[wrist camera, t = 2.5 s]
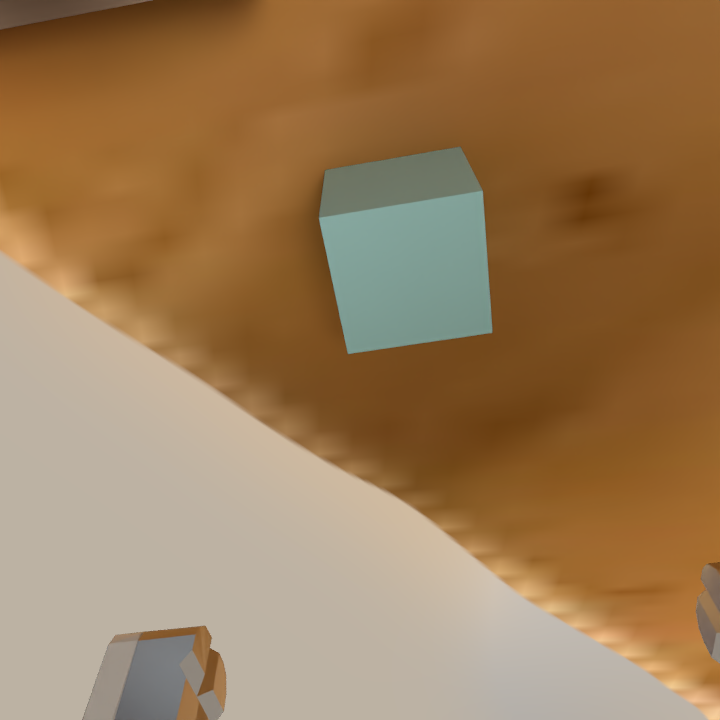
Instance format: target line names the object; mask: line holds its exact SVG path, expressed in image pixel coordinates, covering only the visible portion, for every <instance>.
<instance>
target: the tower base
mask: <svg viewBox="0 0 720 720" xmlns="http://www.w3.org/2000/svg"><path fill="white" fill-rule="evenodd" d="M146 1H151V0H0V30H1V29H6V28H11V27H16V26H22V25H27V24H32V23H37V22H42V21H48V20H53V19H58V18H63V17H68V16H74V15H79V14H84V13H89V12H94V11H100V10H105V9H110V8H115V7H120V6H125V5H131V4H136V3H141V2H146Z"/></svg>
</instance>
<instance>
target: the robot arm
mask: <svg viewBox="0 0 720 720" xmlns="http://www.w3.org/2000/svg"><path fill="white" fill-rule="evenodd" d="M701 580H702V582H703V584H704V586H705V587H706V590H705V591H704V592H703V593H702V594H701V595H700V596H698V599H697V607H696V614H697V620H698V625H699V630H700V632H701V635H702V638H703V641H704V643H705V645H706V647H707V649H708V651H709V653H710V655H711V657H712V658H713V659H714V660H716V661H717V662H719V663H720V562H717V563H709V564H707V565H706V566H705V567H704V568H703V571H702V576H701ZM211 639H212V637H211V635H210V633H209V631H208V630H207V628H206V626H197V627H188V628H178V629H168V630H158V631H148V632H137V633H130V634H121V635H115V637H114V638H113V639H112V641H111V642H110V643H109V645H108V647H107V650H106V653H105V656H104V659H103V661H102V664H101V667H100V670H99V673H98V676H97V679H96V681H95V684H94V687H93V690H92V693H91V696H90V699H89V702H88V704H87V707H86V710H85V713H84V716H83V719H82V720H217V719H218V718H219V717H220V716H221V714H222V713H223V711H224V706H225V699H226V672H225V668H224V663H223V660H222V658H221V656H220V654H219V653H218V652H216V651H214V650H212V649H211V648H210V644H211Z"/></svg>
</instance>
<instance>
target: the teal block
mask: <svg viewBox="0 0 720 720" xmlns="http://www.w3.org/2000/svg"><path fill="white" fill-rule="evenodd" d="M319 221H320V226H321V231H322V235H323V240H324V245H325V249H326V254H327V259H328V263H329V268H330V273H331V277H332V282H333V287H334V291H335V296H336V301H337V305H338V310H339V315H340V319H341V324H342V329H343V333H344V338H345V343H346V347H347V352H348V354H352V353H358V352H365V351H372V350H379V349H386V348H392V347H399V346H406V345H413V344H420V343H426V342H433V341H440V340H447V339H453V338H460V337H467V336H474V335H481V334H487V333H492V318H491V304H490V289H489V275H488V260H487V246H486V231H485V217H484V202H483V190H482V188H481V186H480V184H479V182H478V180H477V178H476V176H475V174H474V173H473V171H472V169H471V167H470V165H469V163H468V161H467V159H466V157H465V155H464V153H463V151H462V149H461V147H456V148H450V149H444V150H438V151H433V152H427V153H421V154H415V155H409V156H403V157H398V158H392V159H386V160H380V161H374V162H369V163H363V164H357V165H351V166H345V167H340V168H334V169H328V170H325V175H324V182H323V190H322V198H321V205H320V213H319Z"/></svg>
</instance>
